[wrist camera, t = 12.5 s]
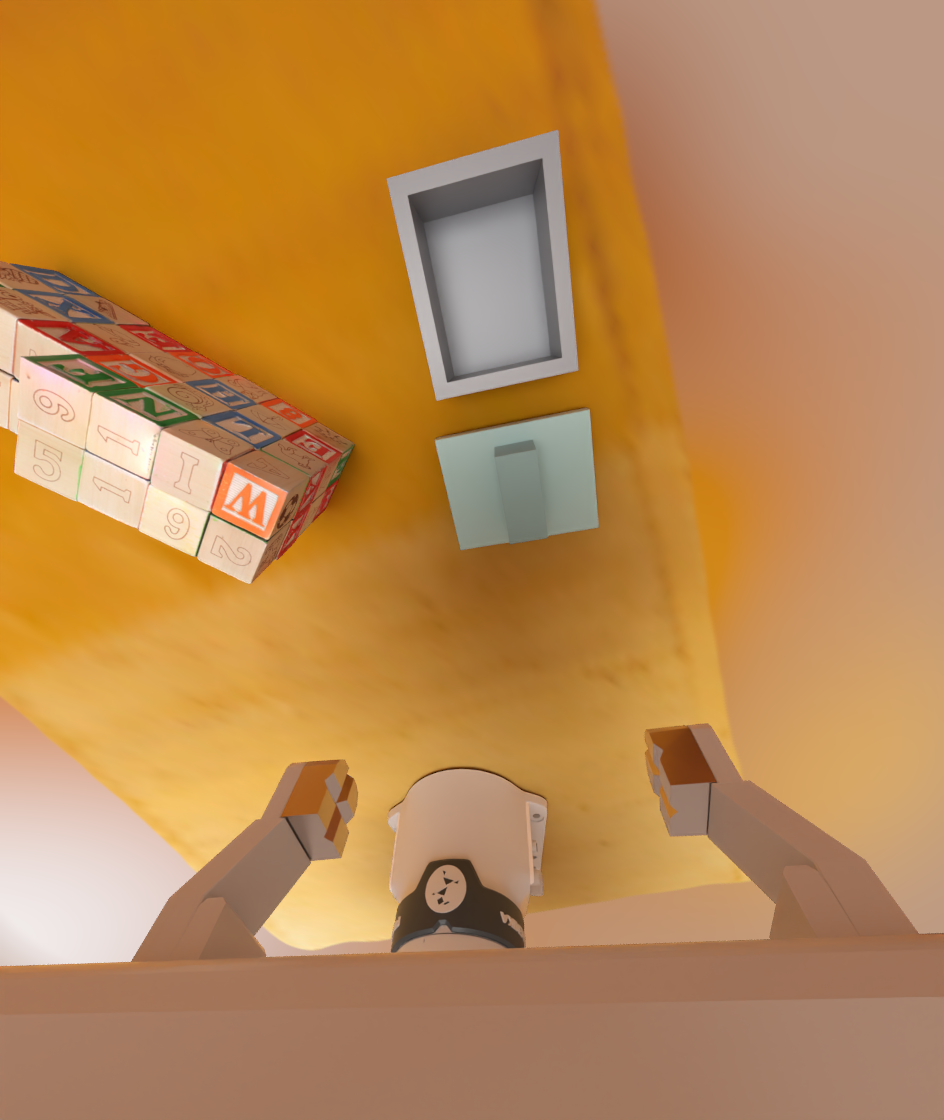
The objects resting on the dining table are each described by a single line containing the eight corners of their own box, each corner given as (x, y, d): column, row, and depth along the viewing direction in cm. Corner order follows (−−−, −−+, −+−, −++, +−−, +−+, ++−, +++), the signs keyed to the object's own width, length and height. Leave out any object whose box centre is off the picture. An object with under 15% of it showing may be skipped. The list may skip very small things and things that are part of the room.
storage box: (562, 365, 29) (578, 370, 23) (446, 390, 30) (436, 400, 24) (543, 177, 24) (558, 129, 19) (408, 213, 25) (386, 178, 20)
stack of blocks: (46, 360, 30) (-209, 369, 19) (56, 268, 28) (-231, 218, 17) (327, 510, 34) (249, 589, 23) (358, 443, 32) (287, 495, 21)
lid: (583, 405, 30) (599, 416, 25) (592, 516, 33) (608, 544, 29) (438, 434, 31) (428, 450, 26) (462, 538, 35) (457, 568, 30)
